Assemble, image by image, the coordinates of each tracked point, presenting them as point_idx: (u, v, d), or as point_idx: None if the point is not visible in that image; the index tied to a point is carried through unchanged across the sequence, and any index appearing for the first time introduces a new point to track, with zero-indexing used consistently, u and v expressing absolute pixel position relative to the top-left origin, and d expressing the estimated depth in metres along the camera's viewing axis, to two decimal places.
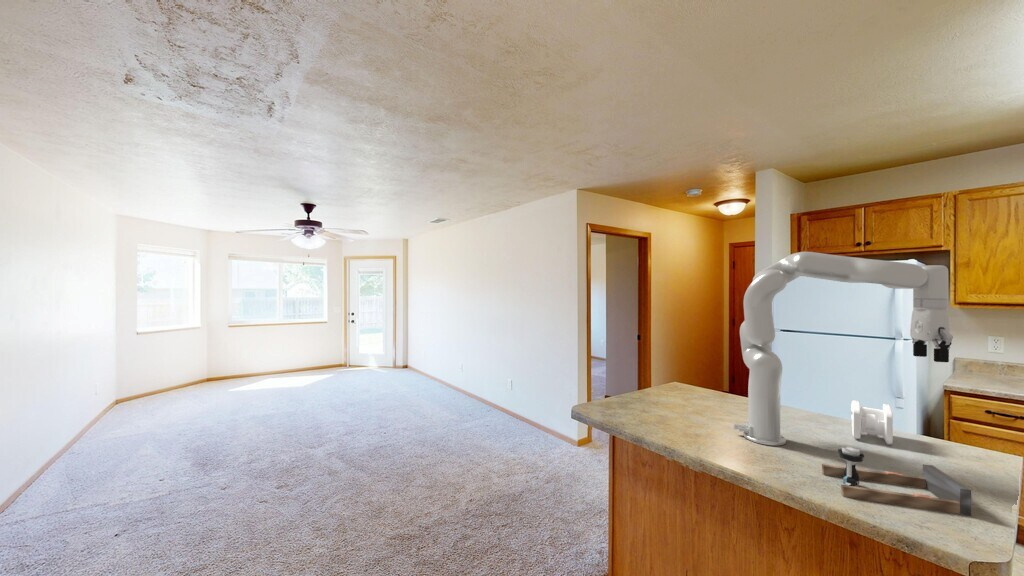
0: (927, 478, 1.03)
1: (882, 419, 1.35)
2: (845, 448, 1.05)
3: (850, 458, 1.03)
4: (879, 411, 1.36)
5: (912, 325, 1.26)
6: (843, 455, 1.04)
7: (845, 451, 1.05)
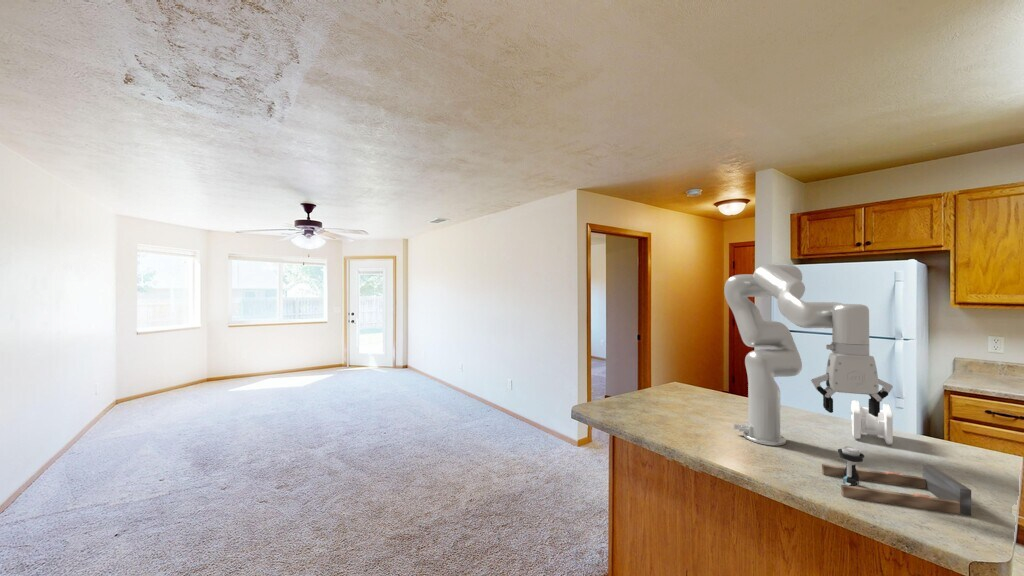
0: (927, 478, 1.03)
1: (882, 419, 1.35)
2: (845, 448, 1.05)
3: (850, 458, 1.03)
4: None
5: (839, 376, 1.03)
6: (843, 455, 1.04)
7: (845, 451, 1.05)
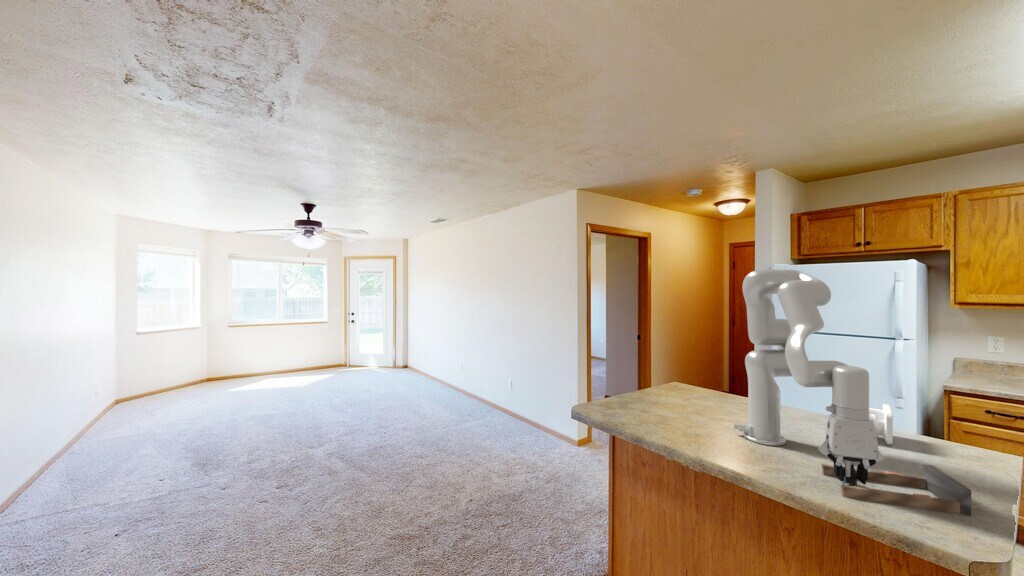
0: (927, 478, 1.03)
1: (882, 419, 1.35)
2: None
3: (849, 458, 1.03)
4: (879, 411, 1.36)
5: (839, 439, 1.03)
6: None
7: None
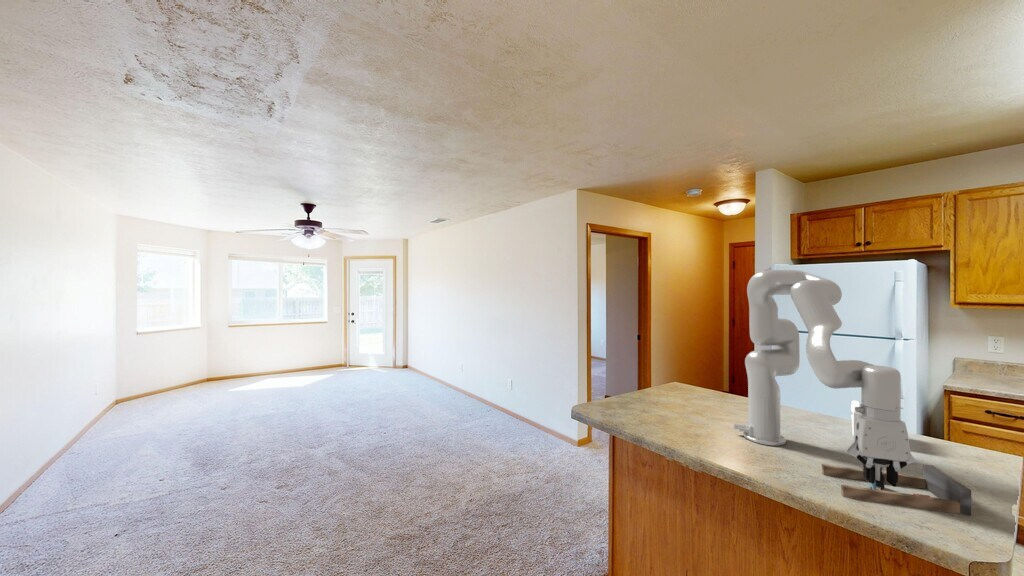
0: (927, 478, 1.03)
1: None
2: None
3: (880, 461, 1.01)
4: None
5: (869, 441, 1.01)
6: (873, 459, 1.02)
7: None
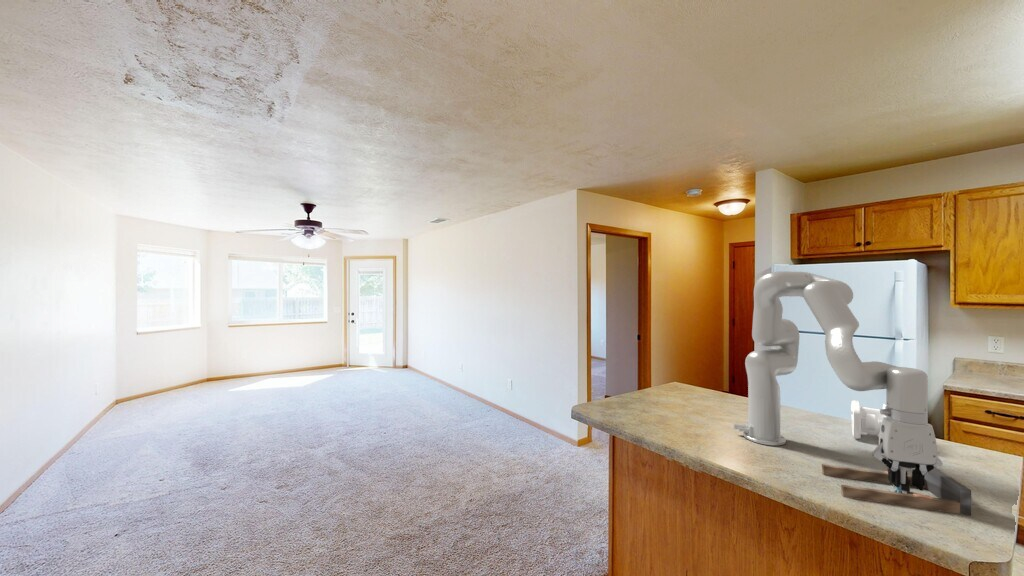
0: (927, 478, 1.03)
1: (882, 419, 1.35)
2: None
3: (906, 465, 0.99)
4: (879, 411, 1.36)
5: (895, 444, 0.99)
6: None
7: None
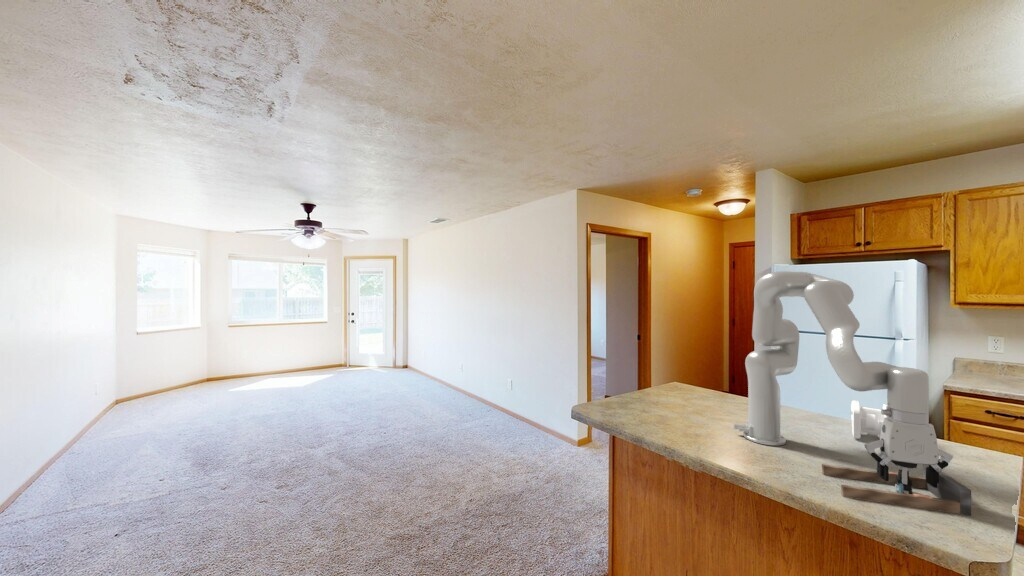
0: None
1: (882, 419, 1.35)
2: None
3: (907, 465, 0.99)
4: (879, 411, 1.36)
5: (896, 444, 0.99)
6: (899, 462, 1.00)
7: None
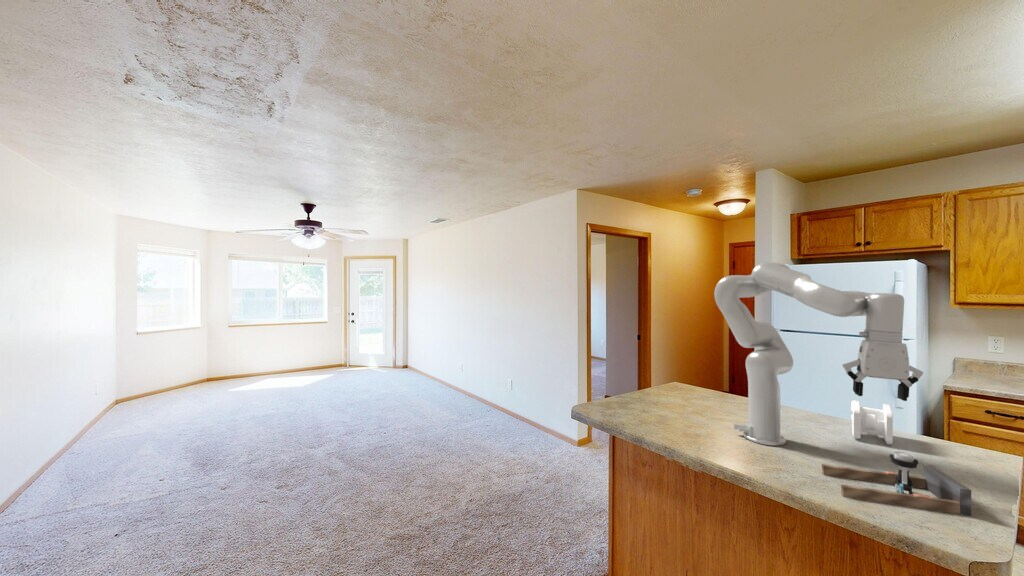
0: (927, 478, 1.03)
1: (882, 419, 1.35)
2: (898, 454, 1.01)
3: (907, 465, 0.99)
4: (879, 411, 1.36)
5: (871, 361, 1.08)
6: (899, 462, 1.00)
7: (900, 457, 1.01)
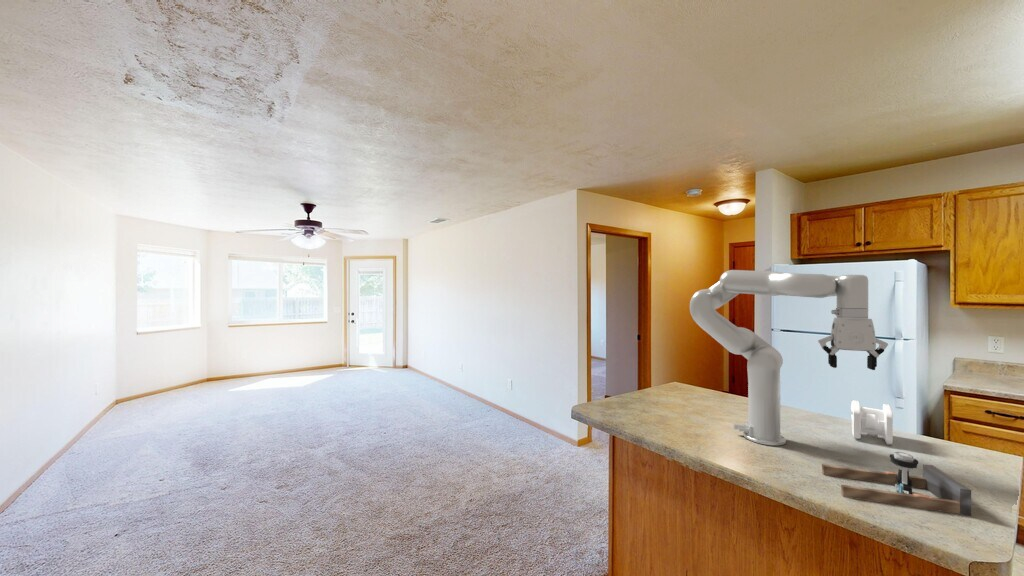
0: (927, 478, 1.03)
1: (882, 419, 1.35)
2: (898, 454, 1.01)
3: (907, 465, 0.99)
4: (879, 411, 1.36)
5: (842, 336, 1.21)
6: (899, 462, 1.00)
7: (900, 457, 1.01)
